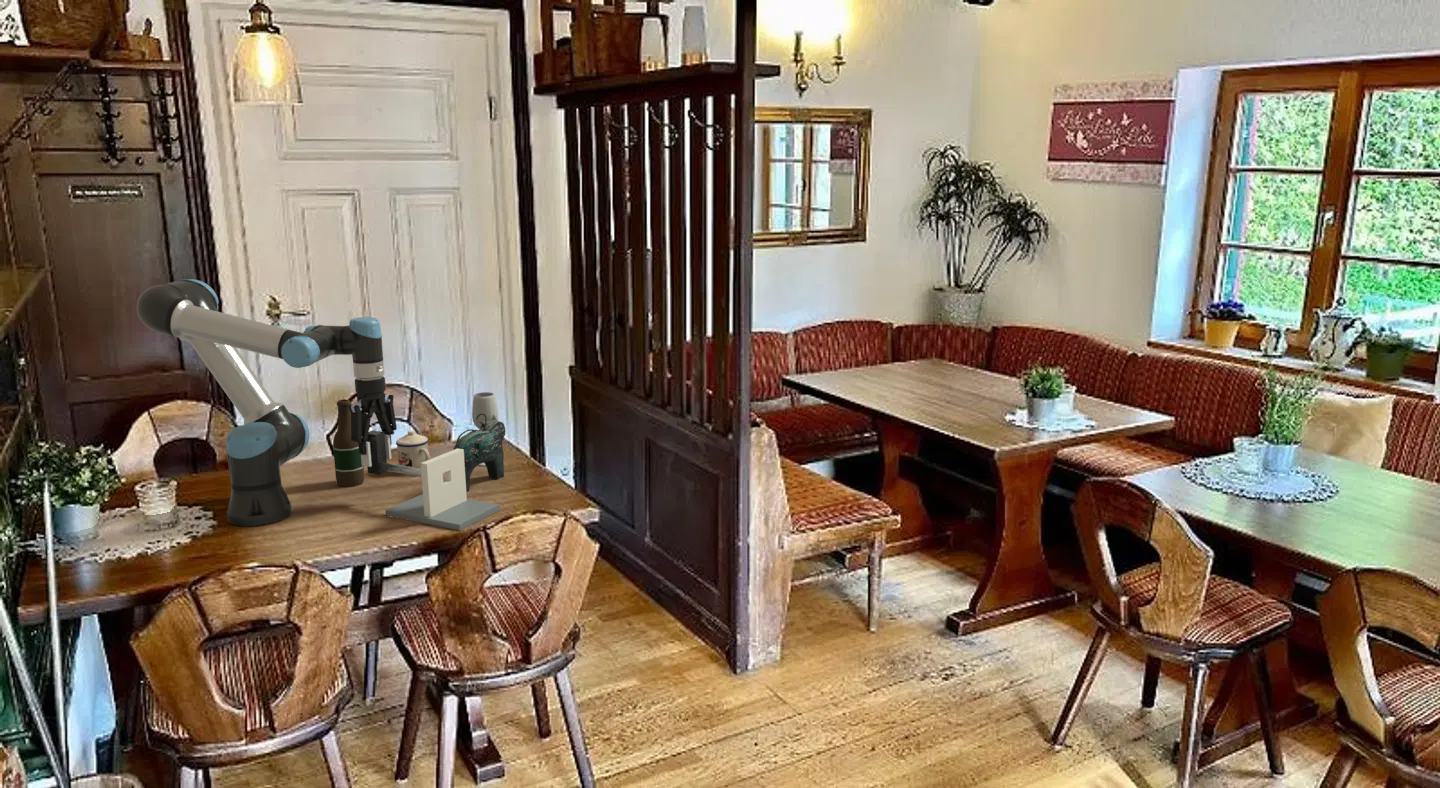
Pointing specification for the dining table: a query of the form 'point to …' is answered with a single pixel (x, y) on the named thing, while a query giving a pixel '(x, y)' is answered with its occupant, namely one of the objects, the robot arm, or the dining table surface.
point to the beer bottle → (346, 450)
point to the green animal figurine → (483, 448)
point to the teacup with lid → (412, 450)
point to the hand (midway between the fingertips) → (376, 461)
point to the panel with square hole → (444, 496)
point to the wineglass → (484, 408)
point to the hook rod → (384, 457)
